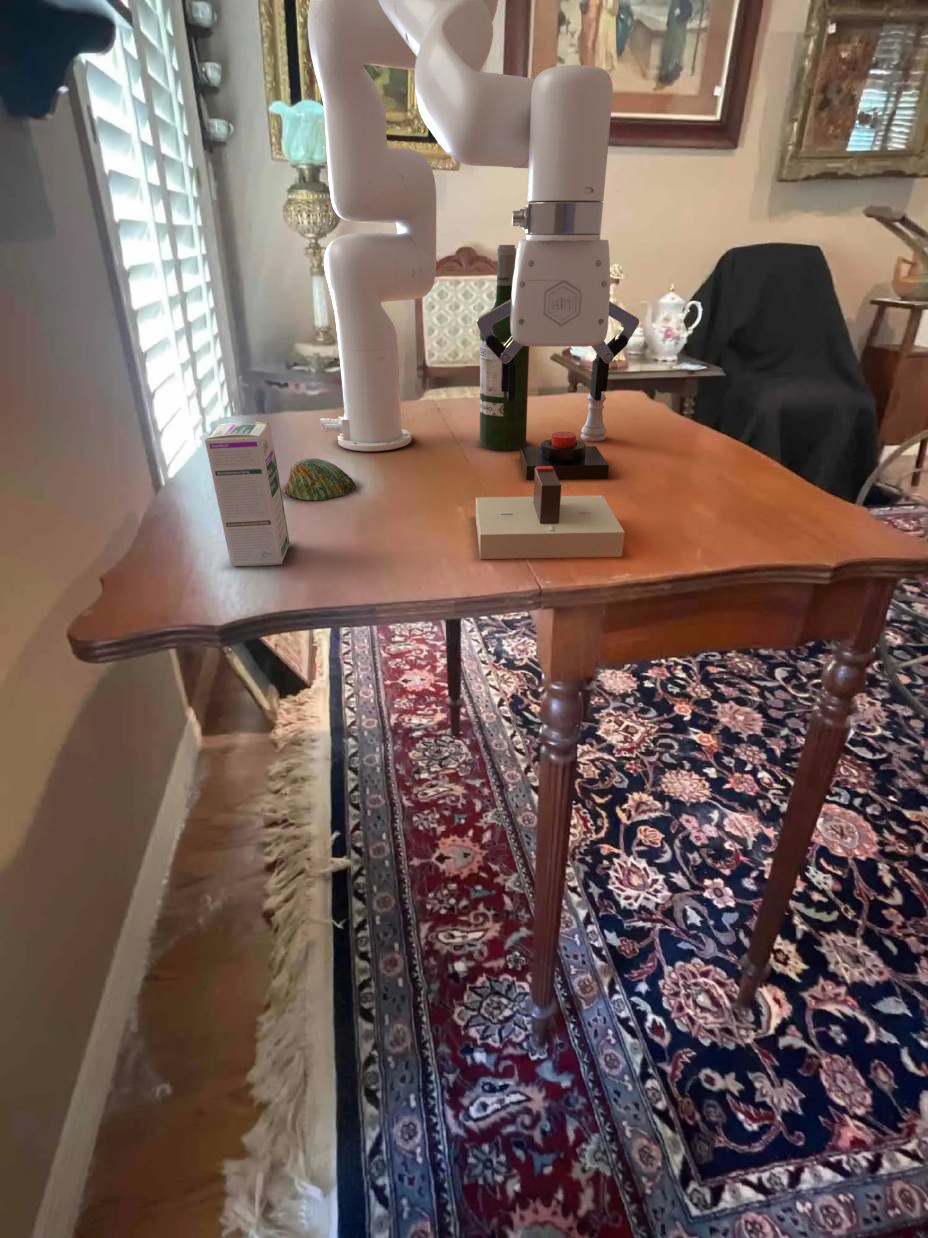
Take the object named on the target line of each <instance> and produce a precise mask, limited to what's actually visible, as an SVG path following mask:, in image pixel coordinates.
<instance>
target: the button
mask: <svg viewBox="0 0 928 1238" xmlns="http://www.w3.org/2000/svg"><path fill="white" fill-rule="evenodd" d="M551 439H552V444H551V446H554V447H559V448H571V447H576V440H577V434H576V433H574V432H570V431H556V432H553V433H552V434H551Z"/></svg>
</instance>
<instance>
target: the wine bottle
mask: <svg viewBox="0 0 928 1238" xmlns="http://www.w3.org/2000/svg"><path fill="white" fill-rule="evenodd" d="M516 253H517V248H516V245H515V244H498V247H497V251H496V254H497V271H496V289H495V291H496V292H495V302H494V305H493V307H492V308H491V309H490V310H489V311H491V310H493V309H494V308H496V307H498V306H500V305H501V304H503V303H505V302H507V301H509V300H510V299H511V293H512V283H513V274H514V268H515V260H516ZM492 330H493V332H494V334H495V336H496V337H497V338H498V340H499V341H500V342H501V343H502V344H503V345H505V343H506V342H507V341H508V340H509V338H510V337H511V336H512V335H511V332H510V315H509V316H507V317H506V318H504V319H502V320H500V321H498V322H497V323H495V324H494V325H493V326H492ZM514 362H515V364H516V373H515V400H513V401H508V399H507V396H506V392H501V365H502V362H501V360H500V359H499V358H498V357H497V356H496V355H495V354H494V353H493V352H492V350H491V349H490V348H489V347H488V346H487V344H486V342H485V340H484V338H483V336H482V334H481V331H480V330H479V445H480V446H481V448H484V449H486V450H489V451H496V452H510V451H511V452H512V451H518V450H520V447H526V445H527V427H528V426H527V425H528V422H527V421H528V403H529V401H528V399H529V397H528V396H529V370H530V346H524V345H523V346H522V348H521V349H520V350H519V351H518V352H517V354H516V355H515V356H514Z"/></svg>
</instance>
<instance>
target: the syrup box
mask: <svg viewBox="0 0 928 1238" xmlns="http://www.w3.org/2000/svg"><path fill="white" fill-rule="evenodd" d="M204 443H205V448H206V453H207V458H208V462H209V467H210V472H211V477H212V481H213V486H214V492H215V495H216V501H217V506H218V511H219V515H220V519H221V524H222V529H223V533H224V538H225V542H226V543H225V544H226V547H227V553H228V557H229V562H230V565H231V566H233V567H259V566H261V567H262V566H276V565H277V566H278V565H282V564H283V561H284V558H285V557H286V554H287V553H288V549H289V546H290V536H289V531H288V525H287V518H286V512H285V507H284V501H283V494H282V488H281V482H280V476H279V469H278V463H277V457H276V452H275V447H274V440H273V434H272V428H271V424H270V422H264V421H237V422H229V423H228V422H227V423H218V424H217V426H216V428H215V429H214V430H213V431H212V432H210V434H209V435H207V437H206V438H205V439H204Z"/></svg>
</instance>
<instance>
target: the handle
mask: <svg viewBox="0 0 928 1238" xmlns="http://www.w3.org/2000/svg"><path fill="white" fill-rule="evenodd" d="M560 481H561V480H559V479H558V477H557V475H556V473H555V471H554V469H553V466H536V468H535V477H534V480H533V497H534V499H533V504H534V507H535V510H536V513H537V516H538V519H539V522H540V523H559V516H560V500H561V496H562V483H561V482H560Z"/></svg>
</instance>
